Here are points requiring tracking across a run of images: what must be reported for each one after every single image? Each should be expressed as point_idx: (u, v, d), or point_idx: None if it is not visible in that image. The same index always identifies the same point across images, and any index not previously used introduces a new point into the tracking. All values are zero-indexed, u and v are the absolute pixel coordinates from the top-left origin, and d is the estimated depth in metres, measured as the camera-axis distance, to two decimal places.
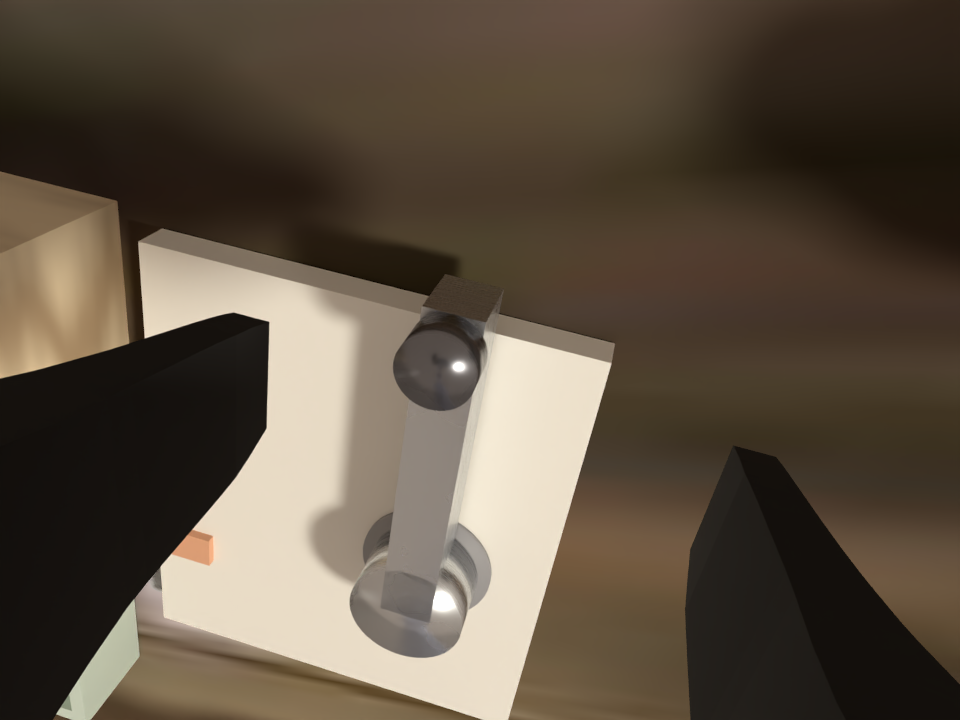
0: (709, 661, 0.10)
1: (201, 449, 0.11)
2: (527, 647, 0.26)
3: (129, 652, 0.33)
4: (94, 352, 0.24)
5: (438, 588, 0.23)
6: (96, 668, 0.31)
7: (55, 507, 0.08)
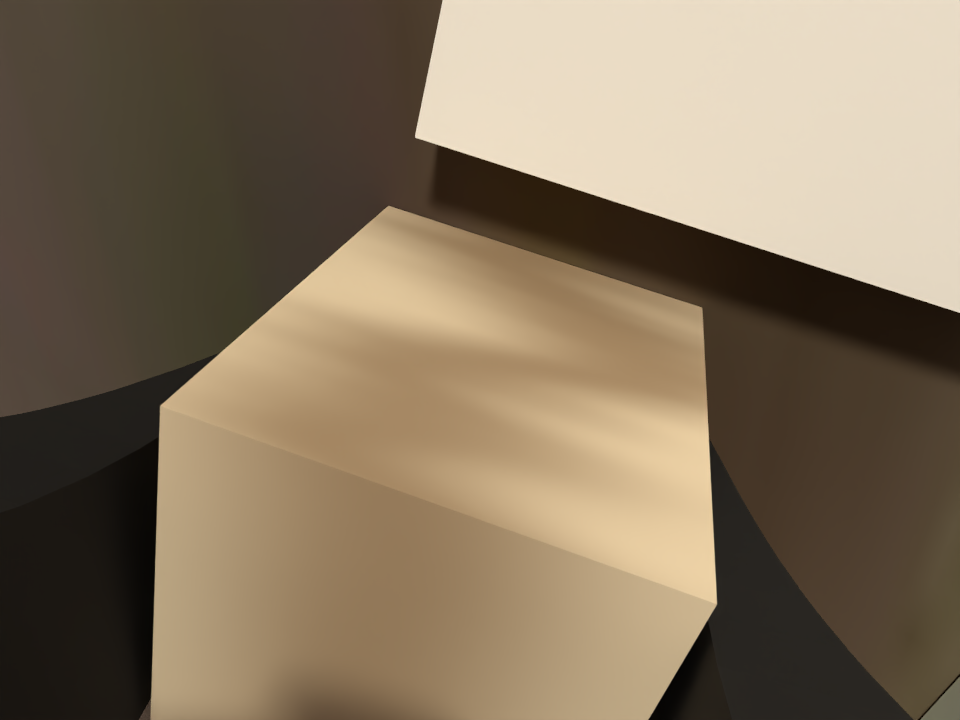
0: None
1: None
2: None
3: None
4: (666, 349, 0.10)
5: None
6: None
7: (136, 532, 0.08)
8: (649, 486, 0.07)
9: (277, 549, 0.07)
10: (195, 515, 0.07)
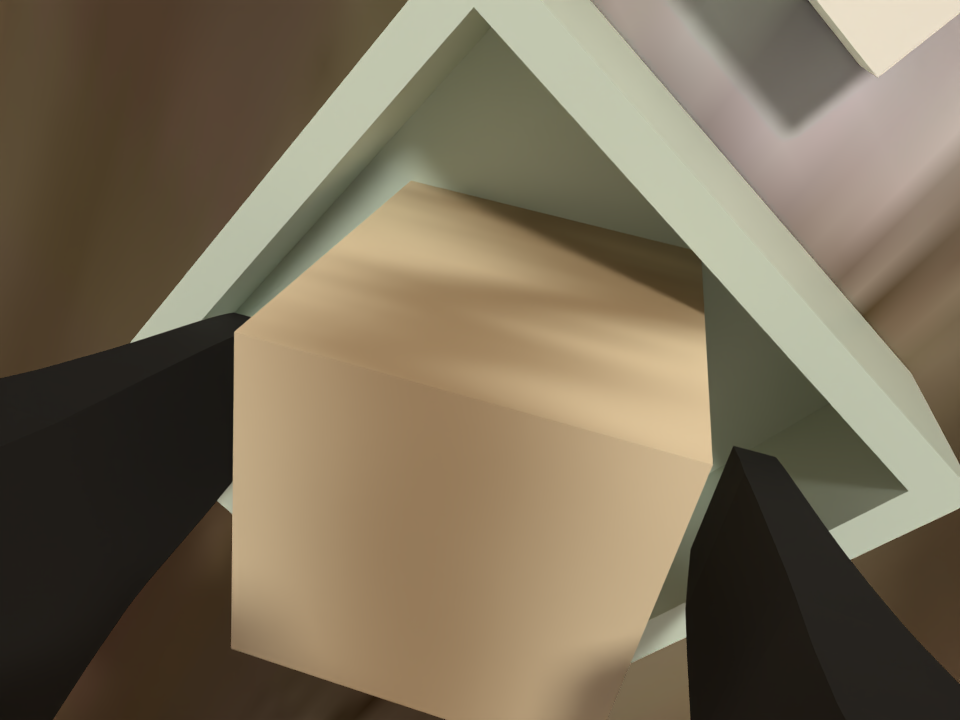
0: (709, 661, 0.10)
1: (201, 449, 0.11)
2: None
3: (884, 350, 0.12)
4: (668, 284, 0.11)
5: None
6: (856, 344, 0.10)
7: (55, 507, 0.08)
8: (653, 384, 0.09)
9: (337, 454, 0.08)
10: (265, 429, 0.08)
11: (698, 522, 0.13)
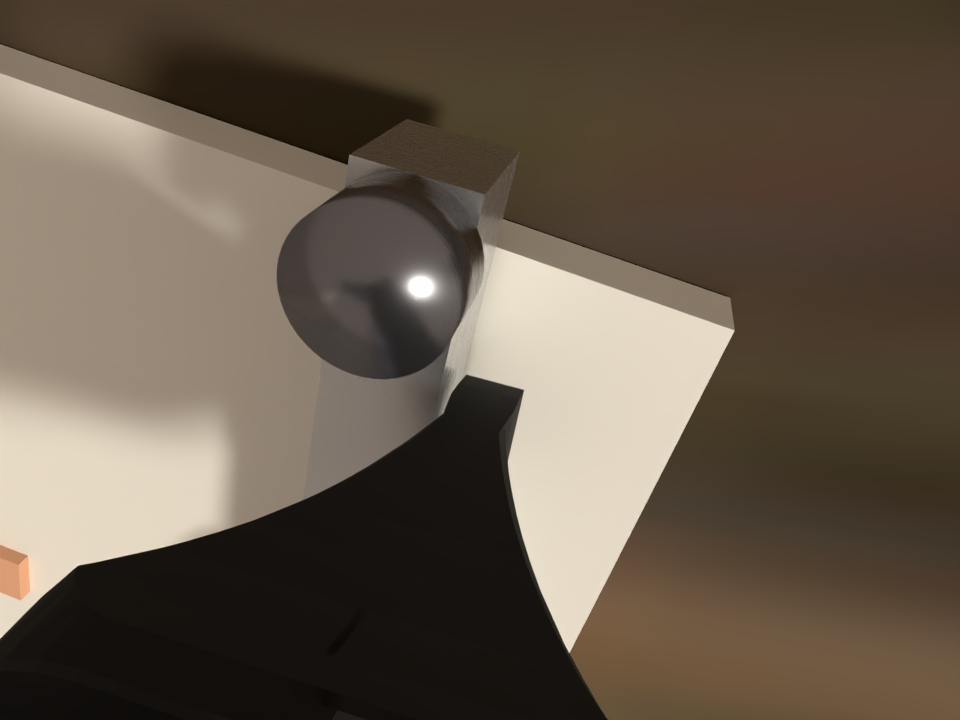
0: None
1: None
2: None
3: None
4: None
5: None
6: None
7: None
8: None
9: None
10: None
11: None
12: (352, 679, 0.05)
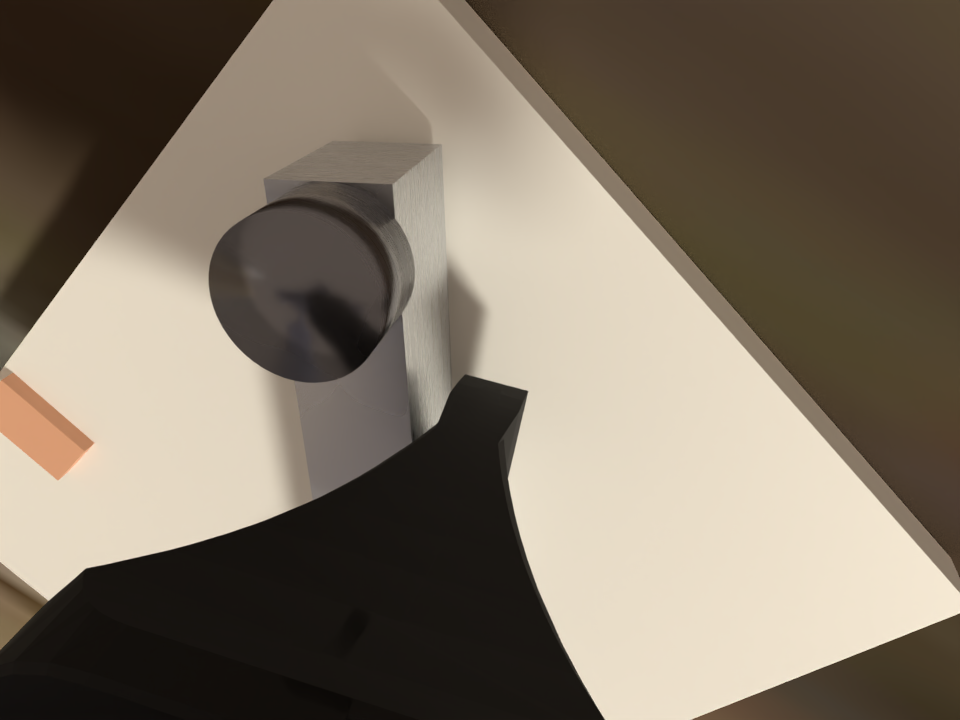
0: None
1: None
2: None
3: None
4: None
5: None
6: None
7: None
8: None
9: None
10: None
11: None
12: (349, 678, 0.05)
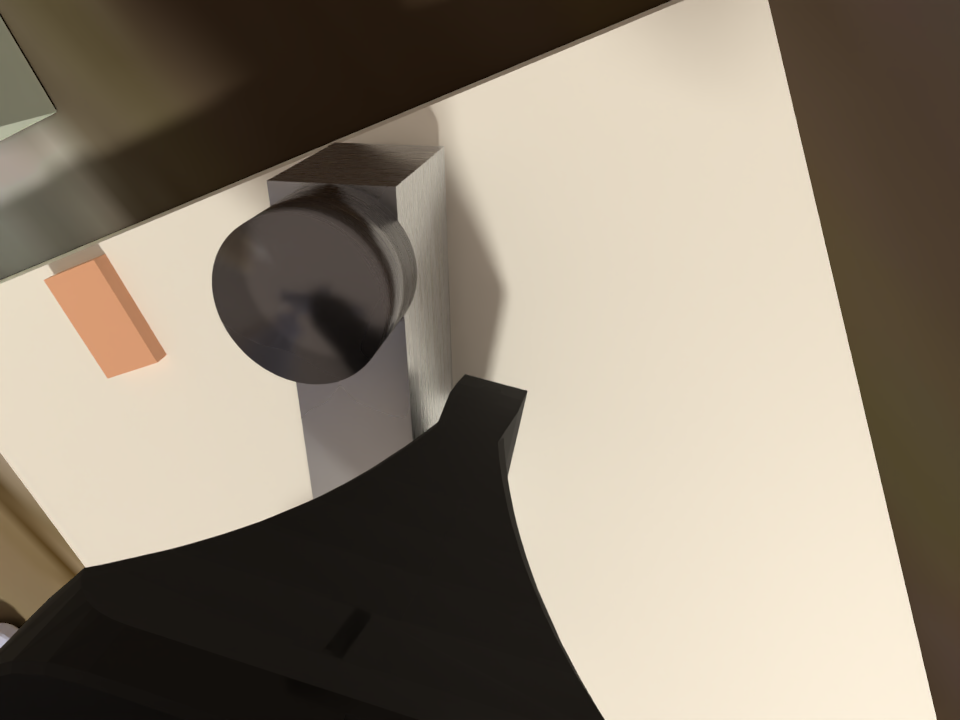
0: None
1: None
2: None
3: None
4: None
5: None
6: None
7: None
8: None
9: None
10: None
11: None
12: (349, 678, 0.05)
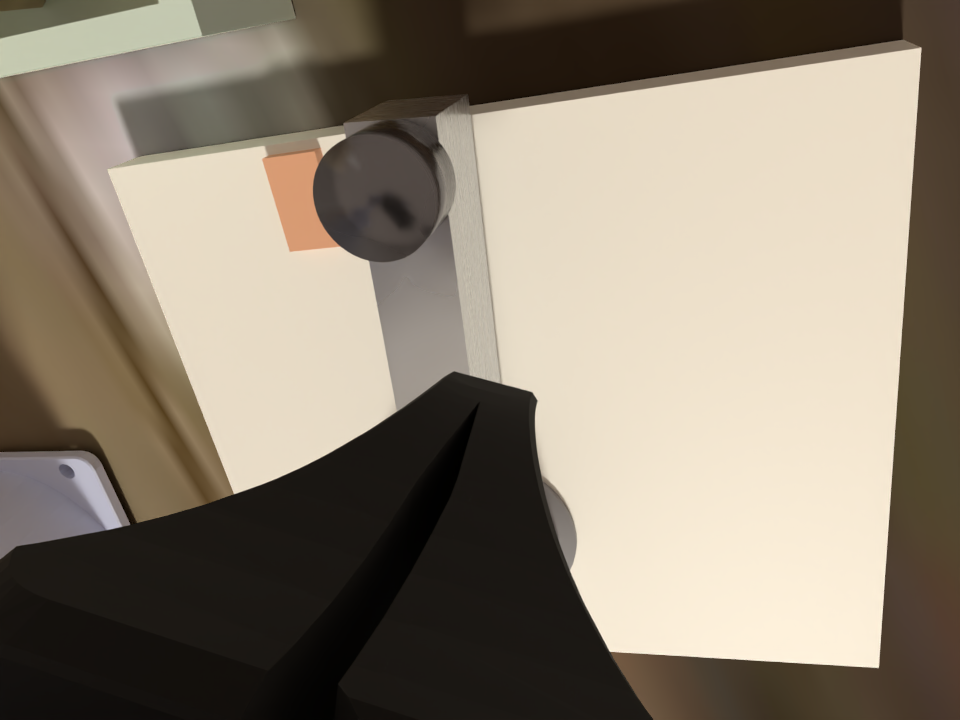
0: None
1: None
2: None
3: None
4: None
5: None
6: None
7: (374, 606, 0.07)
8: None
9: None
10: None
11: None
12: (414, 699, 0.05)
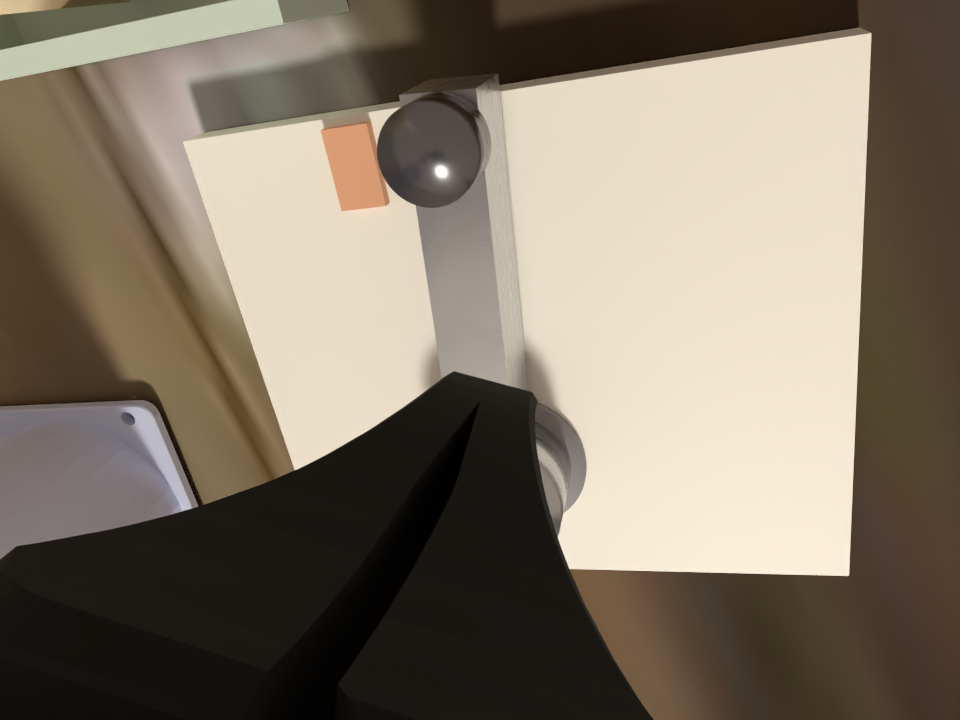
0: None
1: None
2: None
3: None
4: None
5: None
6: None
7: (375, 606, 0.07)
8: None
9: None
10: None
11: None
12: (414, 699, 0.05)
